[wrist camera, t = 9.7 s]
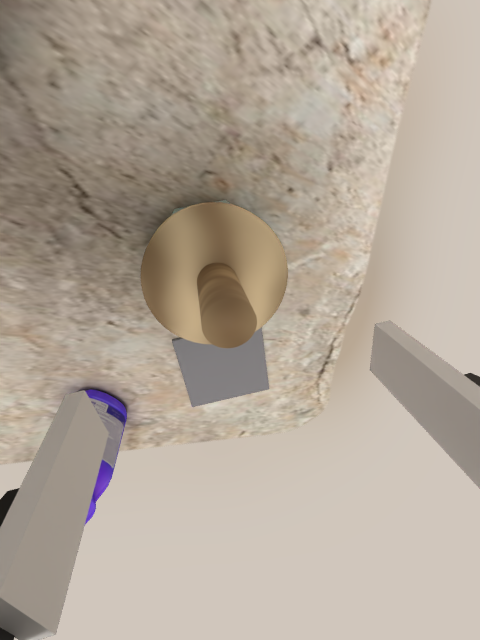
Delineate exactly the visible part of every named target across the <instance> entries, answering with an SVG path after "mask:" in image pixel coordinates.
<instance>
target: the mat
mask: <svg viewBox="0 0 480 640" xmlns="http://www.w3.org/2000/svg"><path fill="white" fill-rule="evenodd" d="M172 343H173V346H174V349H175V352H176V355H177V359H178V362H179V365H180V368H181V372H182V375H183V378H184V381H185V385H186V388H187V391H188V394H189V397H190V401H191V404H192V407H195V406H199V405H203V404H208V403H212V402H216V401H220V400H225V399H229V398H233V397H238V396H242V395H246V394H250V393H255V392H259V391H263V390H268V389H269V383H268V375H267V367H266V359H265V351H264V343H263V335H262V327H261V328H260V329H258V330H257V331H255V332H254V334H253V336H252V337H251V338H250V339H249V340H248V341H247V342H246V343H244V344H242V345H240V346H238V347H235V348H220V347H217V346H215V345H212V344H201V343H195V342H192V341H188V340H186V339H183V338H177V339H172Z"/></svg>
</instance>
